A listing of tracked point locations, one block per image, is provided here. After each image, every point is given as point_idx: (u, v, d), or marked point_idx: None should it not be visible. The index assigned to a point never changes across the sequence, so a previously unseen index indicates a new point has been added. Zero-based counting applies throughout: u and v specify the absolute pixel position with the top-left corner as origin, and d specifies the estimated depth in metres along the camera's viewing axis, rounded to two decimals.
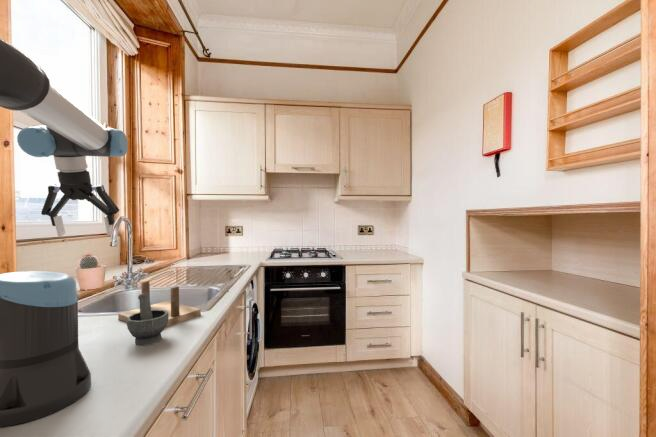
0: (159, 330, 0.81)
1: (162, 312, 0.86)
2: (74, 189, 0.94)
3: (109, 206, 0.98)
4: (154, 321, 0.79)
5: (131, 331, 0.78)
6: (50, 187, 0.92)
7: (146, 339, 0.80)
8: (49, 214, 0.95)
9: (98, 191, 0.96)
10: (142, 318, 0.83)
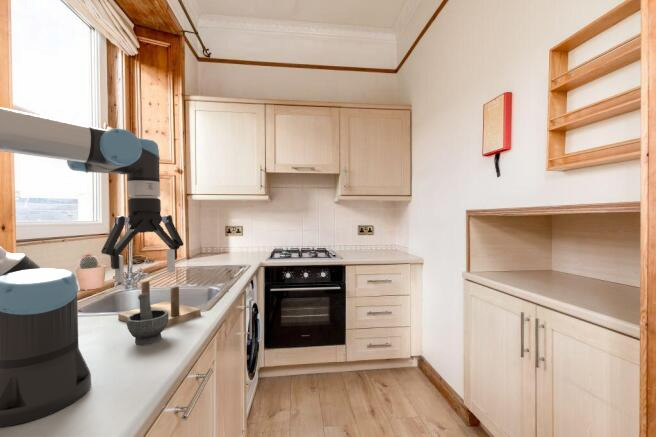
0: (159, 330, 0.81)
1: (162, 312, 0.86)
2: None
3: None
4: (154, 321, 0.79)
5: (131, 331, 0.78)
6: None
7: (146, 339, 0.80)
8: None
9: None
10: (142, 318, 0.83)
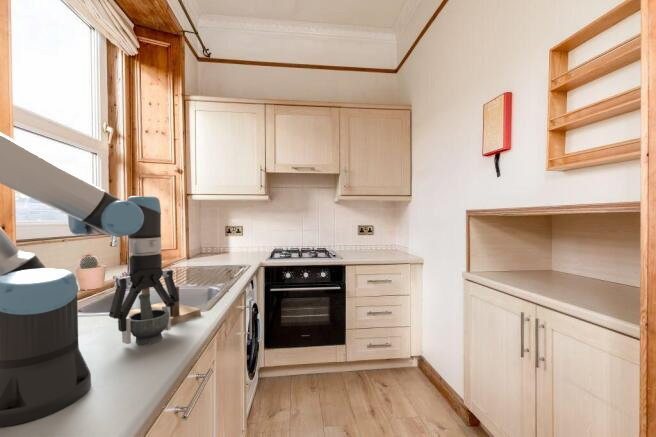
0: (160, 330, 0.81)
1: (162, 312, 0.86)
2: None
3: None
4: (155, 321, 0.80)
5: (132, 331, 0.79)
6: None
7: (147, 338, 0.80)
8: None
9: None
10: (143, 318, 0.83)
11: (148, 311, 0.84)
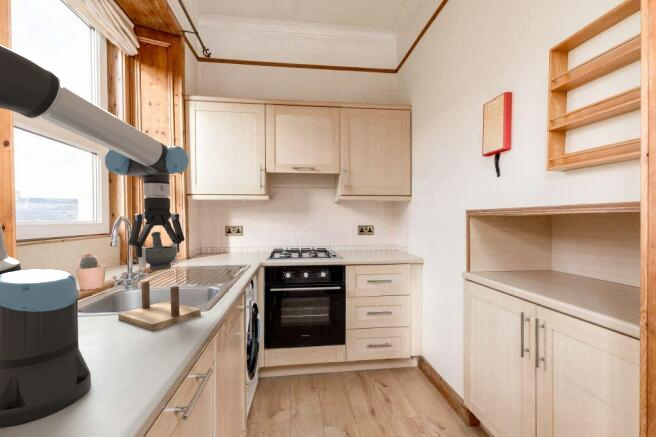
0: (169, 259, 0.99)
1: (171, 247, 1.04)
2: None
3: None
4: (165, 250, 0.97)
5: (146, 258, 0.96)
6: None
7: (158, 265, 0.98)
8: None
9: None
10: None
11: (159, 245, 1.02)
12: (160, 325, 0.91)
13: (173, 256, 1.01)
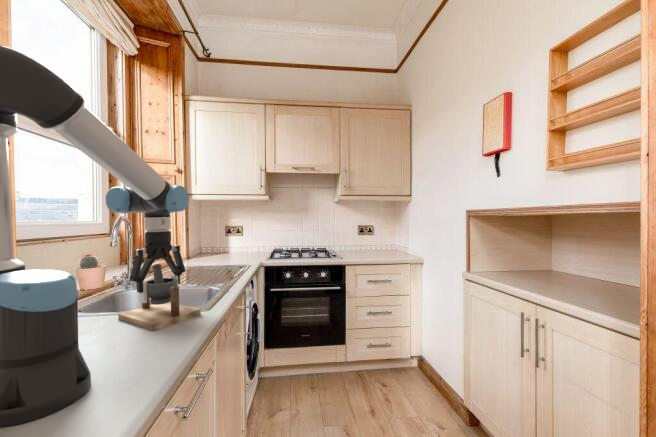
0: (170, 292, 0.99)
1: (172, 279, 1.04)
2: None
3: None
4: (166, 285, 0.98)
5: (147, 292, 0.97)
6: None
7: (159, 299, 0.98)
8: None
9: None
10: (156, 283, 1.01)
11: (160, 278, 1.02)
12: (160, 325, 0.91)
13: None
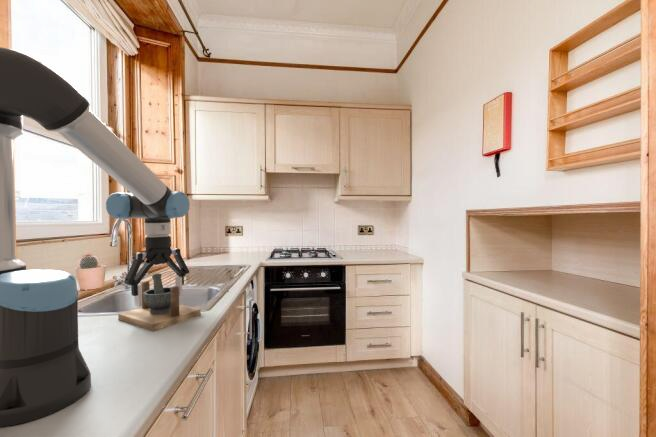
0: (170, 303, 0.99)
1: None
2: None
3: None
4: (166, 295, 0.97)
5: (147, 303, 0.96)
6: None
7: (159, 309, 0.98)
8: None
9: None
10: (156, 293, 1.01)
11: (160, 288, 1.02)
12: (160, 325, 0.91)
13: None
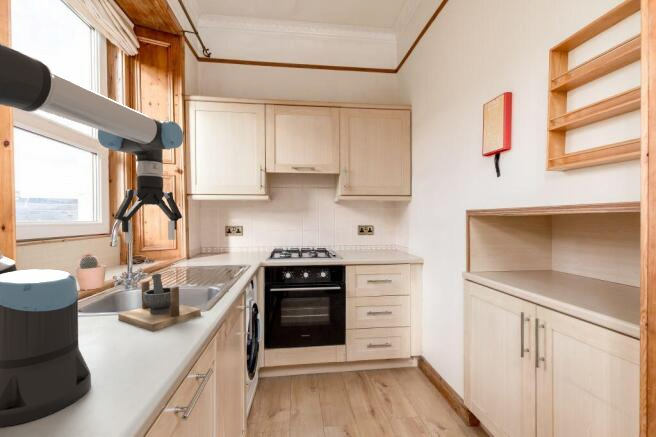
0: (170, 303, 0.99)
1: None
2: None
3: None
4: (166, 295, 0.97)
5: (147, 303, 0.96)
6: None
7: (159, 309, 0.98)
8: None
9: None
10: (155, 293, 1.01)
11: (160, 288, 1.02)
12: (160, 325, 0.91)
13: None
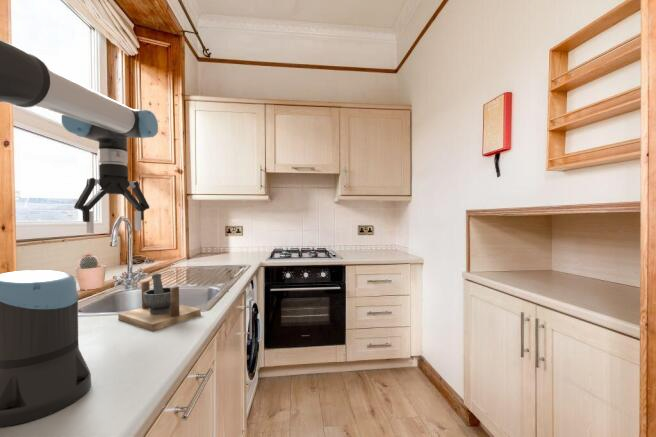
0: (170, 303, 0.99)
1: None
2: None
3: None
4: (166, 295, 0.97)
5: (147, 303, 0.96)
6: None
7: (159, 309, 0.98)
8: None
9: None
10: (155, 293, 1.01)
11: (160, 288, 1.02)
12: (160, 325, 0.91)
13: None
